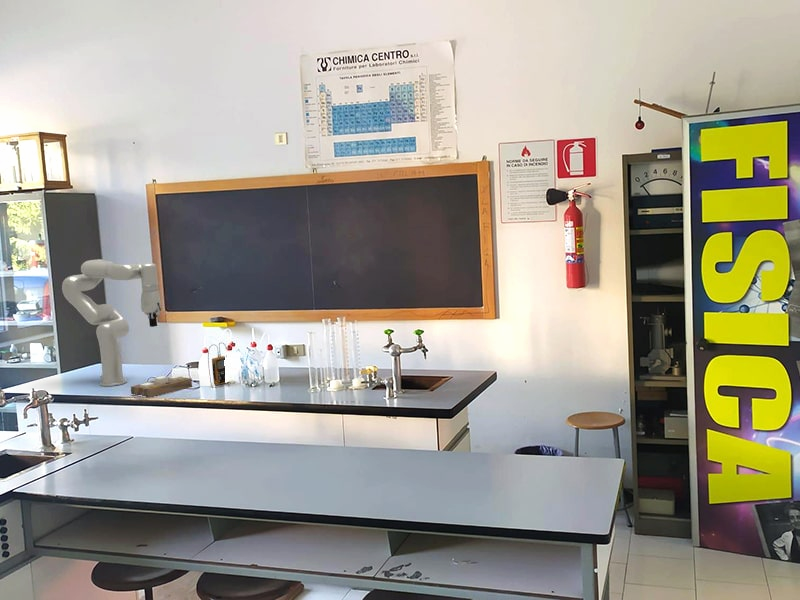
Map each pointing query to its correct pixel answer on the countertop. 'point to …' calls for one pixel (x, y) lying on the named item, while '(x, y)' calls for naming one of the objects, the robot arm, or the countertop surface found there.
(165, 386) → the button board
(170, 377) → the button
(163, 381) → the middle button
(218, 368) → the multimeter
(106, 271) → the robot arm
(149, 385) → the button
